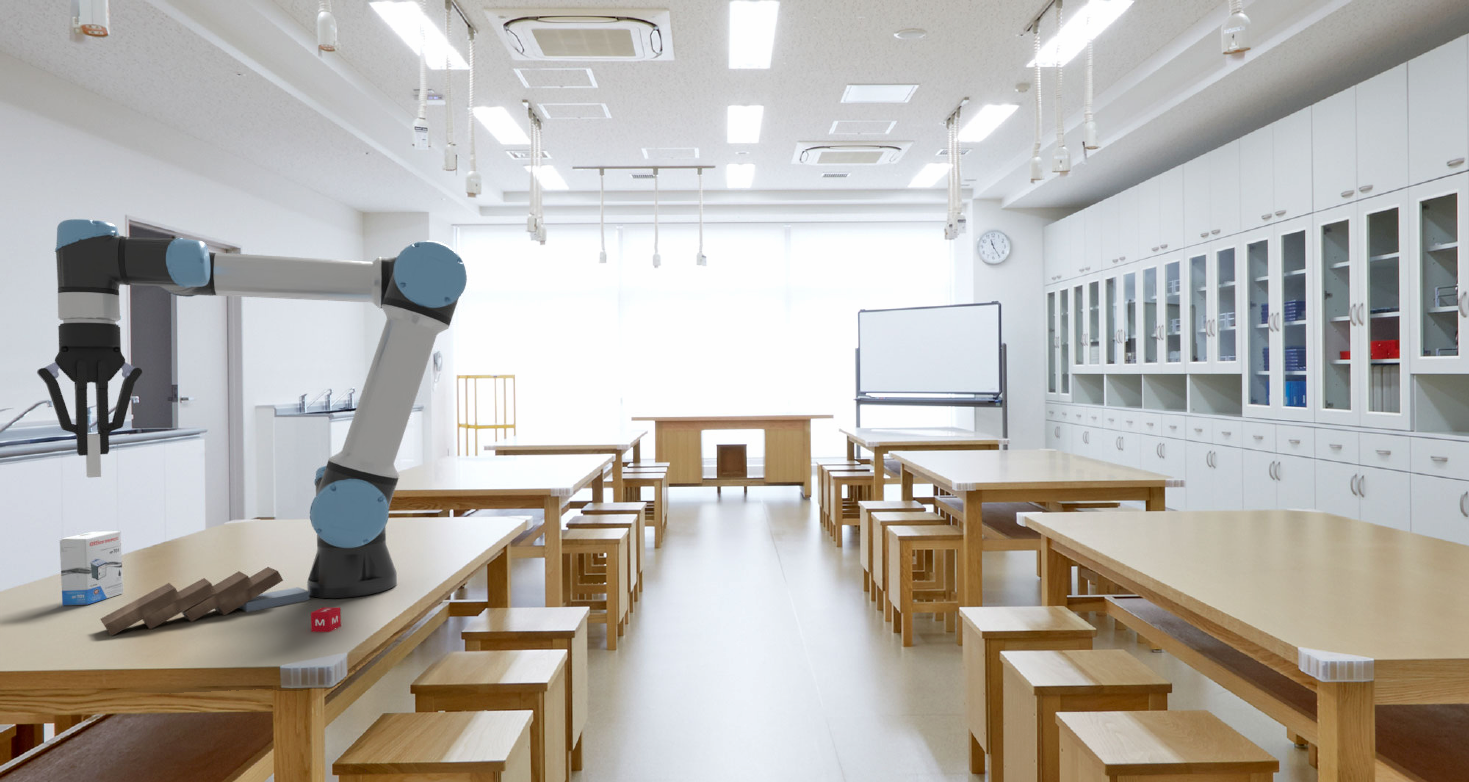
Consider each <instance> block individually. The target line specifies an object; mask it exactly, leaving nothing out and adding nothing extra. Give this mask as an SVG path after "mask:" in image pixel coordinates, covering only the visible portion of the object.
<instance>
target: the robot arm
mask: <svg viewBox="0 0 1469 782" xmlns="http://www.w3.org/2000/svg"><path fill="white" fill-rule="evenodd" d="M54 252H55V254H56V255H55V258H56V273H57V274H56V276H57V317H58V319H59V320H60V321H63V323H60V324H59V325H58V327H57V328H58V352H57V355H56V356H55V357H54V362H52V363H51V364H49V365H47V366H44V367H42V368H39V369H37V371H36V373H37V375H38V376H39V378H41V380H42V381H43V382H44V383H45V385H46V387H47V390H48V393H49V396H50V400H51V402H52V406H53V408H54V410H55V413H56V417H57V419H58V422H59V425H60V428H61V430H63V431H66V432H70V433H73V434H75V436H76V453H77V456H80V457H81V456H85V462H86V463H85V465H86V466H85V468H86V470H85V471H86V477H87V478H89V479H90V478H100V477H102V466H101V465H102V464H101V462H102V461H101V459H102V458H101V455H108V454H109V452H110V437H109V435H110V433H111V432H113V431H117V430H118V429H119V430H120V429H122V428H123V426H124V425H125V424H124V423H125V419H126V417H127V413H128V408H129V405H130V401H131V399H132V397H131V396H132V394H133V390H134V386H135V383H136V382H137V380H138V379H139V378H140V376H142V374H143V370H142V369H141V368H140V367H136V366H134V365H132V364H129V363H128V362H126V359H125V357H124V355H123V354H122V350H121V349H122V348H121V347H122V346H121V343H122V341H121V340H122V339H121V326H119V324H116V323H117V322H119V321H120V320H121V310H120V305H121V304H120V286H121V285H122V286H123V285H124V286H147V287H148V286H149V287H150V286H152V287H160V288H162V289H164V290H165V291H166V292H168V293H169V294H172V295H174V296H176V297H177V296H178V297H186V298H190V297H195V296H210V297H211V296H218V297H219V296H221V297H222V296H223V297H243V298H262V299H263V298H264V299H286V300H287V299H288V300H289V299H290V300H309V301H310V300H312V301H328V302H329V301H331V302H332V301H333V302H335V301H336V302H350V303H351V302H353V303H356V302H357V303H372V304H373V305H374V306H376V308H378V309H382V310H383V312H384V314H385V317H386V321H385V324H384V327H383V329H382V333H381V334H380V335H381V336H380V339H379V342H378V344H377V347H376V350H375V353H374V356H373V359H372V361H371V365H370V368H369V371H368V373H367V375H366V376H367V377H366V379H365V382H364V384H363V387H362V391H361V393H360V396H359V400H358V403H357V406H356V408H355V411H354V414H353V417H352V420H351V423H350V426H349V429H348V432H347V435H346V436H345V440H344V444H343V447H342V449H341V450H340V452H338V453H336V454H334V455H332V456H330V457H328V461H327V463H326V465H324V466H320V467H318V468H317V470H316V471H315V478H314V482H313V483H314V486H315V497H314V498H313V500H312V503H311V505H310V509H309V514H310V515H309V519H310V524H311V527H312V528H313V530H314V532H315V533H316V546H317V548H316V554H315V557H314V559H313V562H312V566H311V569H310V572H309V576H308V578H307V584H306V585H307V587H306V588H307V589H306V590H307V591H309V597H310V596H311V597H315V598H319V599H321V598H322V599H339V598H341V599H342V598H343V599H344V598H353V597H360V596H361V597H362V596H368V595H373V594H378V593H381V592H384V591H388V590H389V589H392V588H394V587H395V586H396V585H397V584H398V579H397V577H398V576H397V570H396V567H395V565H394V562H393V558H392V557H391V554H390V552H389V548H388V546H387V542H386V541H387V539H386V538H387V537H386V535H387V534H386V533H387V531H386V528H387V527H386V526H387V523H388V521H389V514H390V513H389V512H390V506H391V503H392V499H393V497H394V494H395V490H396V488H397V486H398V485H397V484H398V481H399V478H400V475H399V472H398V471H397V468H396V467H395V462H396V459H397V455H398V452H399V450H400V446H401V443H402V441H403V437H404V434H405V431H406V429H407V426H408V423H409V420H410V417H411V415H412V411H413V407H414V404H415V402H416V399H417V397H418V396H417V395H418V393H419V390H420V387H421V384H422V381H423V377H424V375H425V372H426V368H427V365H428V363H429V359H430V357H431V354H432V350H433V348H434V345H435V342H436V338H437V336H438V335H439V334H440V333H442V332H444V331H446V330H449V327H450V325H451V322H452V320H453V316H454V313H455V311H456V309H457V308H456V307H457V304H458V302H459V298H460V297H461V296H462V294H463V293H464V291H465V289H466V286H467V281H468V279H467V271H466V266H465V263H464V261H463V260H462V258H461V257H460V255H459V254H458V253H457V252H456V250H454V249H453V248H451V247H450V246H449V245H446V244H445V243H443V242H440V241H436V240H435V241H434V240H421V241H417V242H414V243H412V244H410V245H408V246H406V247H404V249H403V250H401V251H400V253H399V254H398V255H397V256H394V257H391V256H390V257H389V256H388V257H385V256H378V257H377V258H376V259H374V260H373V261H364V260H363V261H360V260H349V259H348V260H346V259H327V258H313V257H295V256H294V257H293V256H280V255H279V256H278V255H264V254H260V255H259V254H247V253H245V254H244V253H243V254H242V253H230V252H229V253H228V252H210V251H209V247H208V245H207V244H206V242H204V241H201V240H197V239H187V238H186V239H185V238H184V237H177V238H169V237H167V238H162V237H161V238H159V237H137V236H136V237H134V236H133V237H132V236H131V237H130V236H124V235H120V233H119V232H118V227H117V226H116V225H115V224H114V223H111V222H107V221H103V220H93V219H84V218H83V219H82V218H77V219H75V218H74V219H73V218H69V219H64V220H62V221H60V222H59V223H58V225H57V228H56V245H55V249H54ZM59 369H60V370H61V371H62V372H63V373H64V375H66V376H67V378H68V379H70V380H71V382H73V383H74V397H75V399H74V402H75V403H74V404H75V423H72V420H71V417H70V415H69V411H68V409H67V405H66V402H65V400H64V396H63V394H62V391H61V388H60V384H59V382H58V380H57V378H59V377H60V374H59ZM120 370H122V372H121V375H122V377H123V380H122V383H121V387H120V391H119V393H118V394H119V395H118V398H117V402H116V405H115V409H114V413H113V417H112V421H110V420H109V419H110V416H109V415H110V413H109V382H110V381H111V380H112V379H113V378H114V377H115V376H116V375H117V373H119V371H120ZM89 383H93V384H95V385H94V386H95V399H96V427H97V428H96V431H97V433H88V432H89V428H88V426H89V424H88V419H89V418H88V384H89Z"/></svg>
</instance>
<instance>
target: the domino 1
mask: <svg viewBox="0 0 1469 782" xmlns="http://www.w3.org/2000/svg"><path fill="white" fill-rule="evenodd" d="M213 586H214V585H213V584H212V582H210V581H209V580H208V579H206V578H205V577H204V578H201V579H199V580H197V581H195V582H194V583H192V584H190V585H188V586H186V587H185V588H183V589H181V590H179V591H177V592H178V593H179V595H180V597H181V599H179V600H177V601H176V602H174V603H172V604H170V605H168V606H166V607H164V608H163V609H161V610H159V611H157V612H155V613H153V614H151V615H150V616H148V617H146V618H144V619H142V620H141V621H143V623H144V625H146V627H148V629H149V630H151V629H154V628H156V627H157V626H159V625H161V624H163V623H165V622H166V621H169V620H170V619H172V618H174V617H176V616H178V615H179V614H182V612H183V611H185V610H187V609H189V608H190V607H192V606H194V605H196V604H198V603H200V602H201V601H203V600H205V599H207V598H209V597H211V596H212V595H214V594H216V591H215V589H214V588H213Z"/></svg>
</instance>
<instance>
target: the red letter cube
mask: <svg viewBox="0 0 1469 782" xmlns="http://www.w3.org/2000/svg"><path fill="white" fill-rule="evenodd" d="M341 617H342V616H341V607H333V606H332V607H328V606H327V607H324V606H323V607H321V608H318V609H316V610H314V611H311V612H310V623H311V624H310V625H311V626H310V627H311V628H310V631H311V632H313V633H314V632H316V633H317V632H318V633H319V632H321V633H323V632H324V633H329V632H333V631H334V630H336V629H338V628H340V627H342V618H341ZM335 628H336V629H335Z"/></svg>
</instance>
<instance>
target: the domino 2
mask: <svg viewBox="0 0 1469 782" xmlns="http://www.w3.org/2000/svg"><path fill="white" fill-rule="evenodd" d="M249 578H250V577H249V576H248V575H247V574H245V573H243V572H241V571H237V572H235V573H233V574H232V575H230V576H228V577H226V578H224V579H223V580H222V581H219V582H218V583H216V584H214V585H212V586H213V588H214V589H215V591H216V594H214V595H212V596H211V597H209V598H207V599H205V600H203V601H201V602H200V603H198V604H196V605H194V606H192V607H190V608H189V609H187V610H185V611H183V612H181V614H182V616H183V617H184V618H185V619H187V620H188V621H190V622H191V623H193V622H195V621H197V619H199V618H201V617H203V616H204V615H206V614H208V613H209V612H211V611H213V610H215V608H216V607H218V606H220V605H221V604H223V603H225V602H227V601H228V600H230V599H232V598H233V597H235V596H237V595H239V594H240V593H242V592H244V591H245V590H247V589H249V588H251V587H252V586H254V585H253V584H252V582H251V580H250V579H249Z"/></svg>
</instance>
